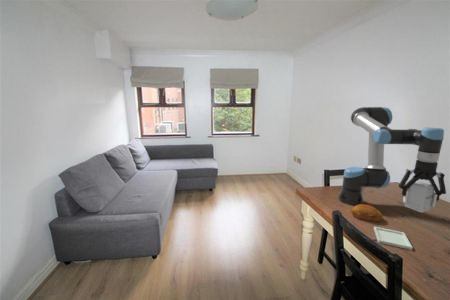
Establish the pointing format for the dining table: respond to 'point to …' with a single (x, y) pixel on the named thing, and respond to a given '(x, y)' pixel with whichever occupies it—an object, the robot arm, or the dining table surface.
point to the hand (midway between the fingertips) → (418, 204)
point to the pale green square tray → (392, 238)
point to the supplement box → (420, 196)
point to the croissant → (366, 212)
